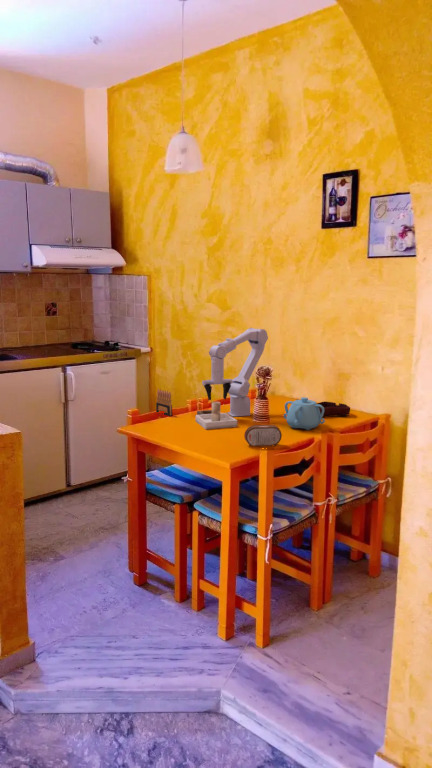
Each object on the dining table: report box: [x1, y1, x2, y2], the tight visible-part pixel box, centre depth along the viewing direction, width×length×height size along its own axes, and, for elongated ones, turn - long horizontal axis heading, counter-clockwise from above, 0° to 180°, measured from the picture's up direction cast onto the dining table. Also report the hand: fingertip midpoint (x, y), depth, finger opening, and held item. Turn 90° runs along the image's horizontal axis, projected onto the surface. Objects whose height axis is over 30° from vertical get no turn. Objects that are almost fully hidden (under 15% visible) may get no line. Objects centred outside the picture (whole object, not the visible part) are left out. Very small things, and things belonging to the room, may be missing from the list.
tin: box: [243, 424, 283, 447], centre depth 236 cm, size 15×3×8 cm, turn 99°
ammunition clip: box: [155, 388, 173, 417], centre depth 287 cm, size 11×2×12 cm, turn 43°
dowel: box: [211, 401, 221, 422], centre depth 269 cm, size 4×4×9 cm
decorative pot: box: [283, 396, 326, 431], centre depth 265 cm, size 16×16×14 cm
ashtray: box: [316, 401, 351, 418], centre depth 291 cm, size 18×16×5 cm
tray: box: [195, 412, 238, 430], centre depth 269 cm, size 15×15×3 cm
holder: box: [196, 409, 212, 415], centre depth 284 cm, size 8×8×2 cm
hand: (217, 399), depth 278 cm, fingers open, 7 cm apart
